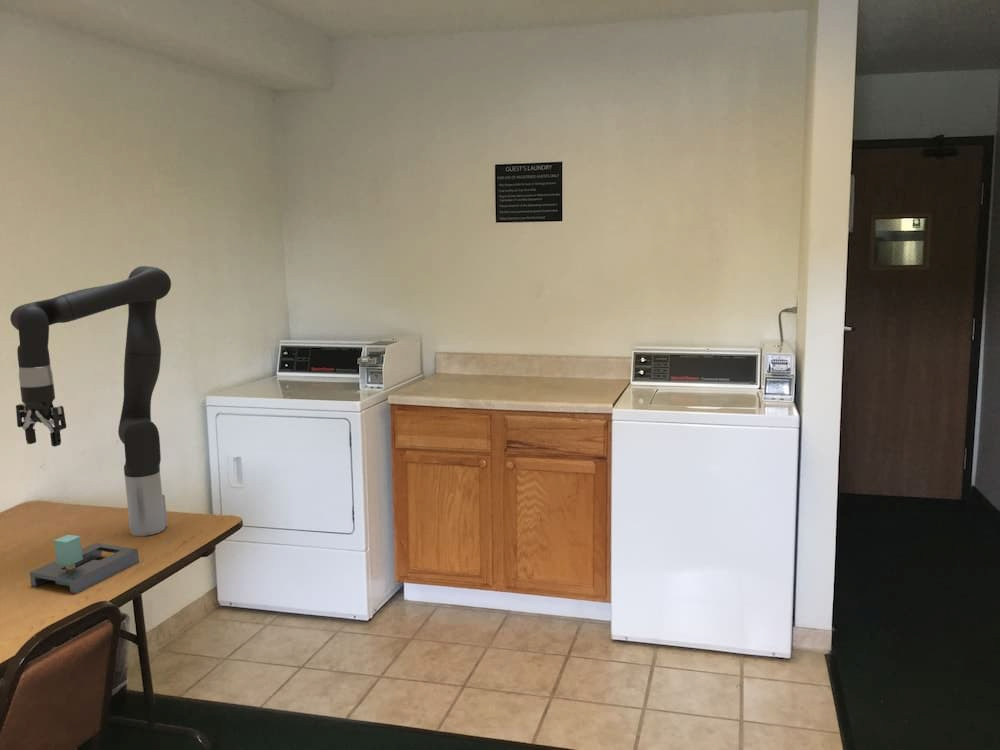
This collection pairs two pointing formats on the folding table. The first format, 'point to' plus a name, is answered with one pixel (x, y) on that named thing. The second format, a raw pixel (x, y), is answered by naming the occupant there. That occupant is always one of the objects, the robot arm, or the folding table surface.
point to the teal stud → (68, 552)
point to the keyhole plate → (87, 567)
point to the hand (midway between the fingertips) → (43, 444)
